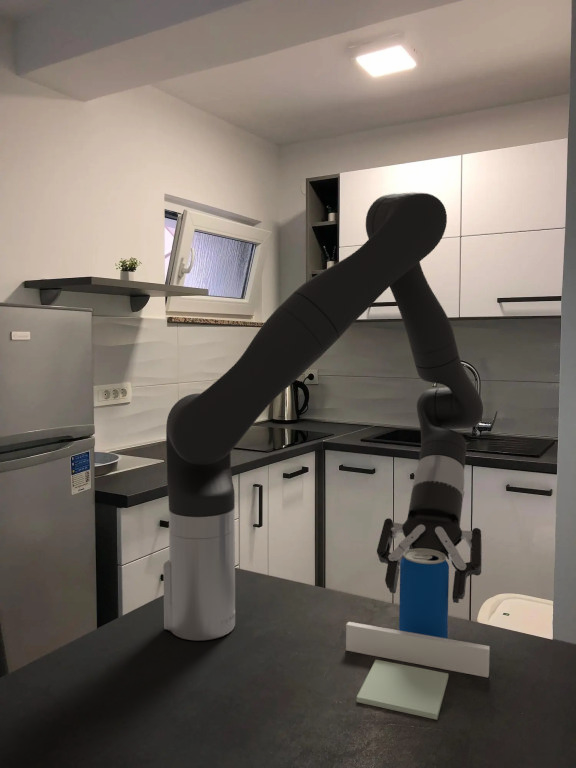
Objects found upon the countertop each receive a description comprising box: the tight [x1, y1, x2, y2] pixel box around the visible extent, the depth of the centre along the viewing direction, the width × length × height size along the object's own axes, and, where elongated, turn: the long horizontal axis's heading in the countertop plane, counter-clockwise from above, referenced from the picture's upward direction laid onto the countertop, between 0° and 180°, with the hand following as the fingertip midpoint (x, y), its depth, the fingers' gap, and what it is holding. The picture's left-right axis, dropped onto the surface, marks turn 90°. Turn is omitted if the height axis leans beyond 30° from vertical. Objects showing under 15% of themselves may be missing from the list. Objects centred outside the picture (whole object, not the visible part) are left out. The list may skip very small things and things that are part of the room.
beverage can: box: [398, 548, 450, 639], centre depth 86 cm, size 6×6×12 cm
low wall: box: [345, 621, 491, 678], centre depth 81 cm, size 18×1×4 cm, turn 68°
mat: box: [356, 659, 449, 720], centre depth 74 cm, size 9×9×1 cm
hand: (423, 595), depth 85 cm, fingers open, 8 cm apart
